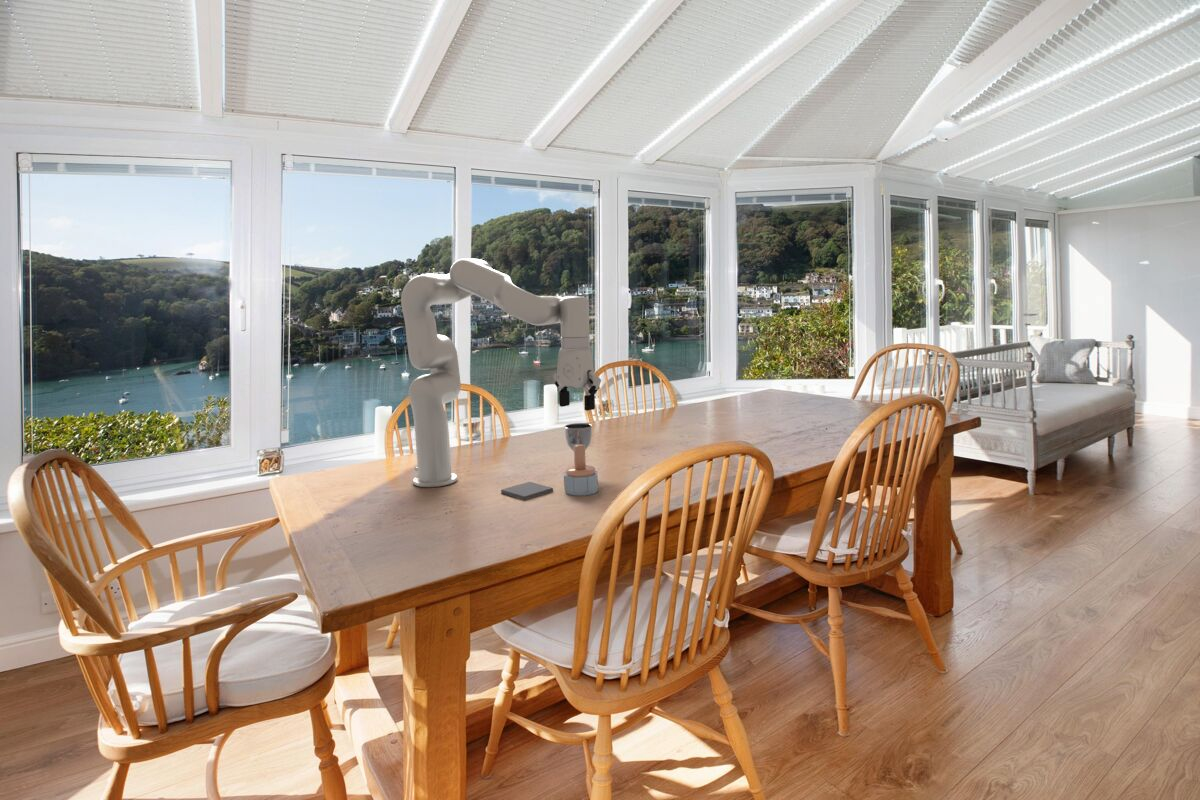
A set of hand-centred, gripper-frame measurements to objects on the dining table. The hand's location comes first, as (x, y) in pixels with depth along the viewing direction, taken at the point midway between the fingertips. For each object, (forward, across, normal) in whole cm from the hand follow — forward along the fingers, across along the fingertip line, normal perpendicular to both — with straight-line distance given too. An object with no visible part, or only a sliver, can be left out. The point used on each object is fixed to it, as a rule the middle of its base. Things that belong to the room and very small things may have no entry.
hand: (577, 407), depth 182 cm
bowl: (+23, +1, 0) cm, 23 cm away
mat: (+23, -10, -10) cm, 27 cm away
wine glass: (+23, -11, +11) cm, 28 cm away
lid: (+18, 0, 0) cm, 18 cm away
